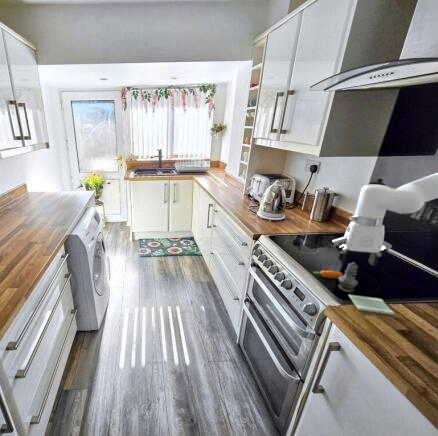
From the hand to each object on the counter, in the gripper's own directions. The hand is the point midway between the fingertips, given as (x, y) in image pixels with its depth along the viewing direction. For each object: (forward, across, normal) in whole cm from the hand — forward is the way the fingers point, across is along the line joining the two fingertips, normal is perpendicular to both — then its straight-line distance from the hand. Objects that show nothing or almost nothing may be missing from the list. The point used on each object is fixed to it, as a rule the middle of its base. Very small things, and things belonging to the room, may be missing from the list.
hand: (355, 262), depth 89 cm
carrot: (+12, -4, +7) cm, 14 cm away
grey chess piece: (+12, -1, 0) cm, 12 cm away
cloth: (+12, +3, -8) cm, 15 cm away
